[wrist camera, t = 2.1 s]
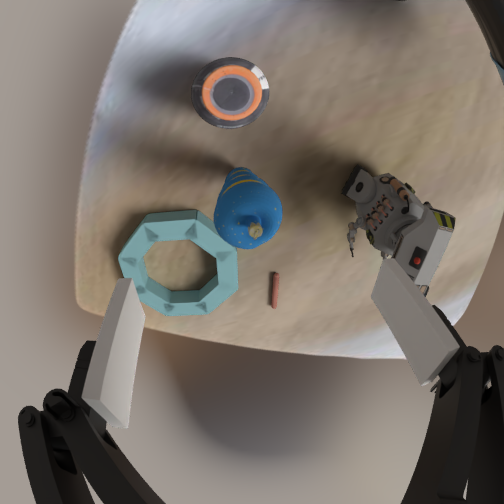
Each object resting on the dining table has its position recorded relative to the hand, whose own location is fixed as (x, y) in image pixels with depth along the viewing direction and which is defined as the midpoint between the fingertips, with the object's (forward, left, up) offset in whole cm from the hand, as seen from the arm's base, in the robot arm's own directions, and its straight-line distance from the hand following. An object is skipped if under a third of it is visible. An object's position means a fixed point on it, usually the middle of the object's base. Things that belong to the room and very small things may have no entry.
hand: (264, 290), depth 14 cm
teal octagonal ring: (+12, -8, -20) cm, 24 cm away
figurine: (+4, +17, -20) cm, 27 cm away
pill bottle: (-9, -1, -20) cm, 22 cm away
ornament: (0, 0, -20) cm, 20 cm away
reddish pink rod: (+18, +5, -20) cm, 27 cm away
